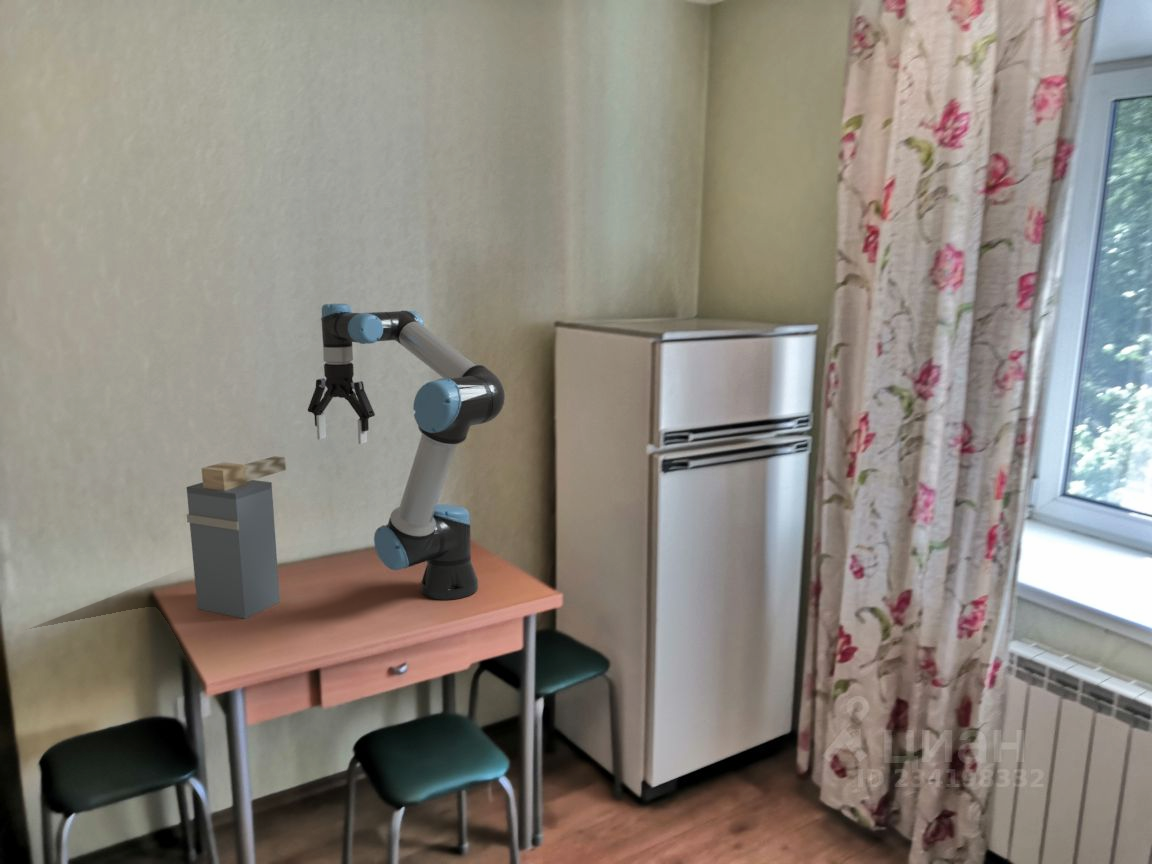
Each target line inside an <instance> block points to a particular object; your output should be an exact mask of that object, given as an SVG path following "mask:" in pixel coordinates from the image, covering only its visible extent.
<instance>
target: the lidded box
mask: <svg viewBox="0 0 1152 864" xmlns="http://www.w3.org/2000/svg"><path fill="white" fill-rule="evenodd" d="M186 496H187V507H188V508H187V509H188V513H187V514H186V519H187V523H189V530H190V540H191V551H192V562H193V573H194V574H193V575H194V585H195V597H196V607H197V608H196V609H197V610H202V611H207V612H210V613H216V614H220V613H221V615H226V616H229V617H230V616H231V617H235V618H239V619H244V620H245V619H247V618H250V617H252V616H254V615H256V614H258V613H260V612H263V611H264V610H267V609H268V608H271V607H272V606H274V605H277V604H278V603H280V602H281V599H280V598H281V596H280V584H279V572H278V570H279V569H278V557H277V556H278V555H277V543H276V532H275V531H276V525H275V515H274V499H273V498H274V497H273V486H272V482H271V481H265V480H264V481H263V480H258V479H254V480H251V481H248V482H246V484H245V485H242V486H239V487H235V488H232V489H229V490H225V491H223V490H215V489H208V488H203V481H202V482H199V483H196V484H192V485H189V486H186Z"/></svg>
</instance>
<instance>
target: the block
mask: <svg viewBox="0 0 1152 864" xmlns="http://www.w3.org/2000/svg"><path fill="white" fill-rule="evenodd" d="M286 467H287V466H286V457H284V456H276V455H275V456H274V455H273V456H270V457H267V458H264V459H259V460H256V461H253V462H249V463H246V464H242V463H241V464H240V463H232V462H220V463H215V464H212V465H208V466H204V467H201V476H202V482H203V488H208V489H215V490H223V491H225V490H229V489H232V488H235V487H239V486H242V485H245V484H246V482H248V481H251V480H258V479H260V478H265V477H267V476H270V475H273V474H277V473H281V472H284V471H286V470H287V468H286Z"/></svg>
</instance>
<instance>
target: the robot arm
mask: <svg viewBox="0 0 1152 864" xmlns="http://www.w3.org/2000/svg"><path fill="white" fill-rule="evenodd" d="M351 309H352V308H351V305H350V304H348V303H325V304H322V306H321V317H320V321H321V332H322V334H321V336H322V351H323V352H322V353H323V354H322V355H323V362H325V363H324V364H323V369H324V370H323V372H324V373H323V374H324V377H323V378H317V379H316V380H315V387H314V392H313V394H312V396H311V399H310V403H309V404H308V408H307V411H308V413H312V414H313V415H314V426H315V427H316V434H317V436H316V438H317V440H322V439H323V440H324V439H326V438H327V425H326V423H327V422H326V414H325V413H324V411H325V410H326V409H327V407H328V406H329V404H330V402H332V399H333V398H340V399H341V398H342V399H345V400H346V401H347V402H348V403H349V405H350V406H351V408H352V409H353V410H354V412H355V413H356V415H357V416H358V418H359V419H357V432H358V433H357V437H358V438H357V439H358V443H357V444H359V445H362V444H366V443H368V434H367V433H368V431H369V428H370V426H369V419H370V418H372V417H375V415H376V414H375V411H374V409H373V406H372V404H371V401H370V400H369V397H368V396H367V395H368V394H367V393H366V391H365V387H364V385H365V384H364V382H363V381H362V380H361V381H356V382H354V381H353V378H354V363H353V362H352V361H353V360H354V358H353V357H354V356H353V353H354V352H353V343H359V344H362V345H365V344H374V343H376V342H386V341H396V342H397V343H398V344H400V345H401V346H402V347H403V348H404V349H406V350H407V351H408V352H410V353H411V354H413V356H415V357H416V358H417V359H418V360H419V361H421V362H423V364H425V365H426V366H428V367H429V369H431V370H433V371H434V372H435V373H436V374H438V375H439V376H440V377H441V378H438V379H435V380H431V381H428V382H426V383H424V384H423V385H422V386H421V387H420V388H419V389H418V391H416V392H417V393H416V394H415V397H414V401H413V407H412V409H413V411H415V413H413V417H414V420H415V422H416V424H417V428H418V430H419V432H420V433H421V436H420V439H419V443H418V446H417V449H416V453H415V456H414V459H413V462H412V466H411V467H410V472H409V475H408V479H407V483H406V486H405V488H404V492H403V495H402V498H401V502H400V505H399V506H398V507H395V508H394V509H393V510H392V511H391V513H390V517H389V519H388V523H387V524H385V525H381V526H380V527H378V528H377V529H376V530H375V532H374V538H373V541H374V547H375V551H376V554H377V556H378V558H379V560H380V561H381V563H383V565H384V566H385V567H386V568H388V569H390V570H393V571H399V570H402V569H404V570H406V569H408V568H410V567H413V566H416V565H419V564H422V563H425V562H426V566H425V569H424V572H423V575H422V580H421V584H420V586H421V588H420V589H421V594H422V595H424V596H425V597H427V598H430V599H435V600H442V601H443V600H446V601H447V600H459V599H463V598H467V597H469V596H472V595H473V594H475V593H476V592H477V591H478V590H479V579H478V577H477V575H476V571H475V569H474V566H473V564H472V553H471V552H472V550H471V522H470V519H471V518H470V513H469V510H468V509H467V508H465V507H462V506H459V505H455V504H454V505H453V504H443V503H442V504H438V503H439V499H440V496H441V494H442V490H443V488H444V485H445V482H446V478H447V476H448V474H449V473H448V472H449V470H450V466H451V463H452V461H453V458H454V454H455V452H456V450H457V449H456V448H457V446H458V445H460V444H462V443H464V442H465V441H466V440H467V436H468V433H469V430H470V427H471V426H476V425H481V424H482V425H483V424H485V423H488V422H491V421H492V420H494V419H495V418H496V417H497V416H498V415H499V414H501V413H500V412H501V411H502V409H503V408H504V405H505V398H506V396H505V395H506V394H505V389H504V386H503V384H502V382H501V380H500V379H499V377H497V376H496V374H495V373H493V372H492V371H491V370H490V369H488V368H487V367H486V366H485V365H482V364H475V363H473V361H471V360H470V359H468V358H467V357H466V356H464V355H463V354H462V353H460V352H459V351H457V349H455V348H454V347H453V346H451V345H449V344H448V343H447V342H445V341H444V340H443V339H442V338H440V337H439V336H438V335H436V334H434V332H432V331H431V330H430V329H428V328H427V327H425V326H424V324H425V323H424V320H423V318H422V317H421V314H420V313H419V312H416V311H413V310H405V309H404V310H403V309H402V310H399V311H396V310H395V311H379V312H378V311H377V312H376V311H375V312H352V310H351ZM325 388H327V389H325ZM325 390H326V391H325ZM477 589H478V590H477Z"/></svg>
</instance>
